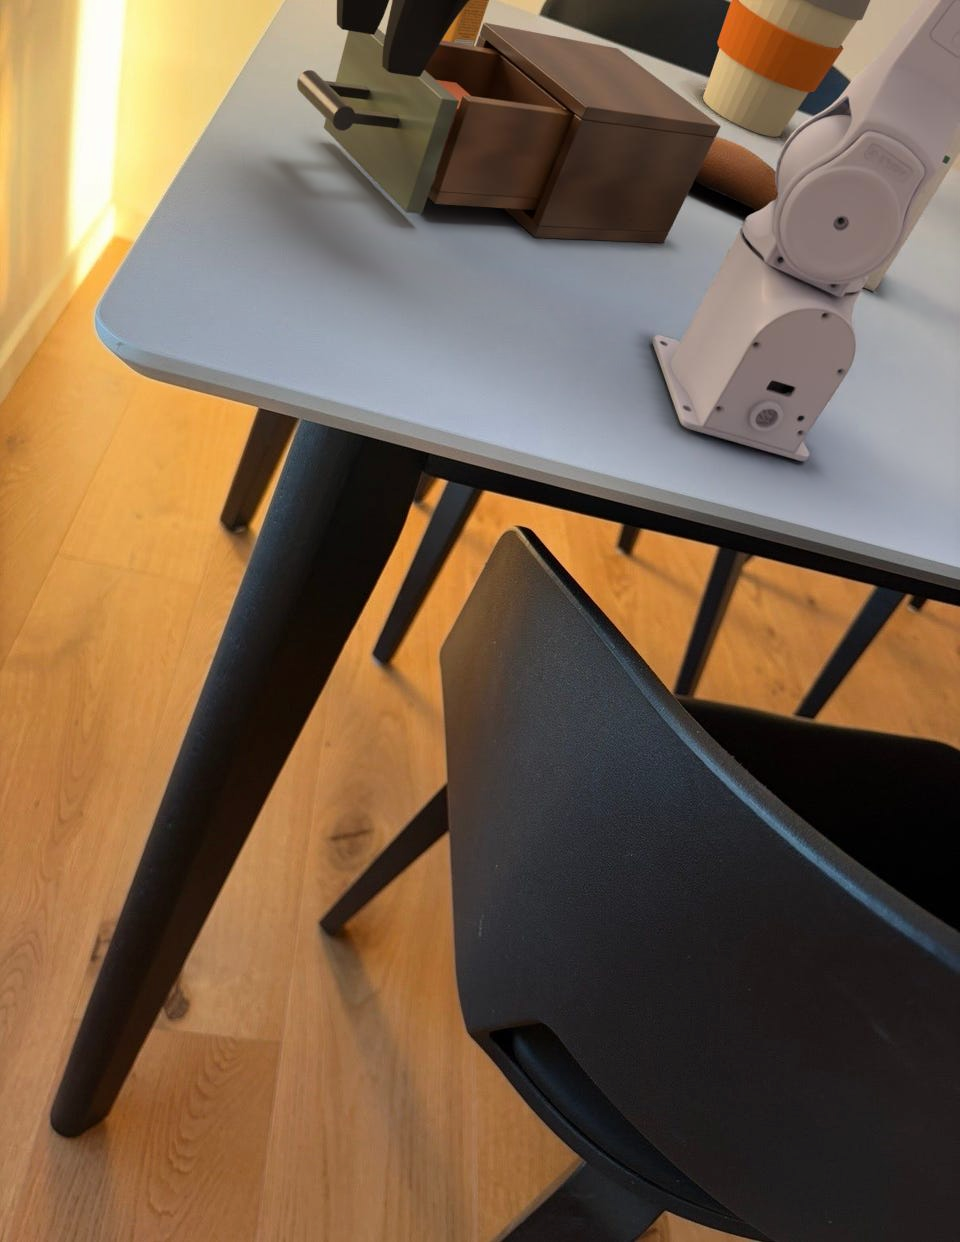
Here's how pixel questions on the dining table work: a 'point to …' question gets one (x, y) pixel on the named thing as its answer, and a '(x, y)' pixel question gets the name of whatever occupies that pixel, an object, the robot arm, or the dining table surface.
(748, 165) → the sunglasses case
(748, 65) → the reusable coffee cup
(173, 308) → the dining table surface
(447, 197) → the drawer
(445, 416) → the dining table surface
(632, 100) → the cabinet
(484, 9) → the supplement box
